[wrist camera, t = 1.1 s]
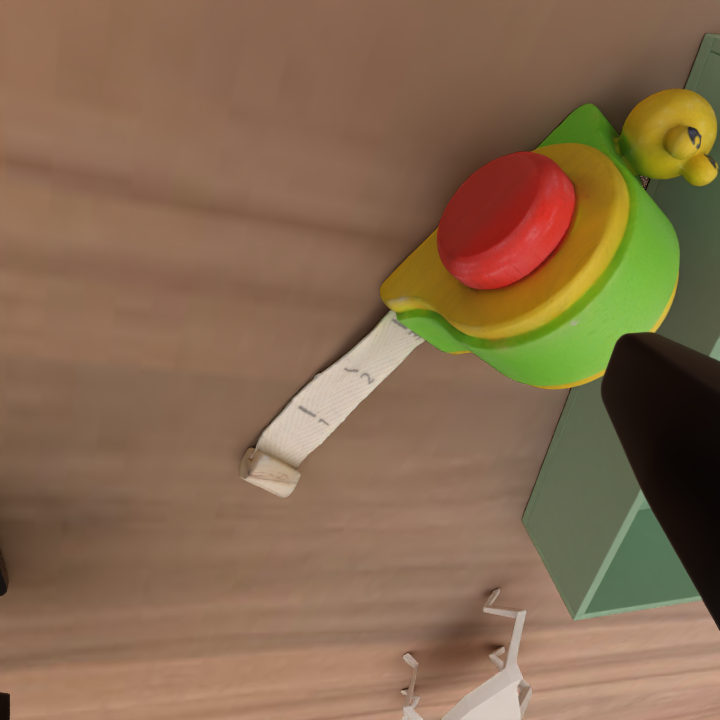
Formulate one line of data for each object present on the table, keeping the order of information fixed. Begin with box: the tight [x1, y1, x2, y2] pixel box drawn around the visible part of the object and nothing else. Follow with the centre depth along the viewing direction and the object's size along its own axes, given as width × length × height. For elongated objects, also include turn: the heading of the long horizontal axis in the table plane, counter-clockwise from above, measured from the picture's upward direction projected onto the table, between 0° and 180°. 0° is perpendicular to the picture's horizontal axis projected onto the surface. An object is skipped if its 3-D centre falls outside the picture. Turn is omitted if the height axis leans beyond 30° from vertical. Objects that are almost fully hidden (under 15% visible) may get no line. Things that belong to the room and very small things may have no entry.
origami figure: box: [401, 588, 532, 720], centre depth 37 cm, size 12×8×5 cm
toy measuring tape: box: [239, 88, 719, 498], centre depth 21 cm, size 6×20×7 cm, turn 136°
